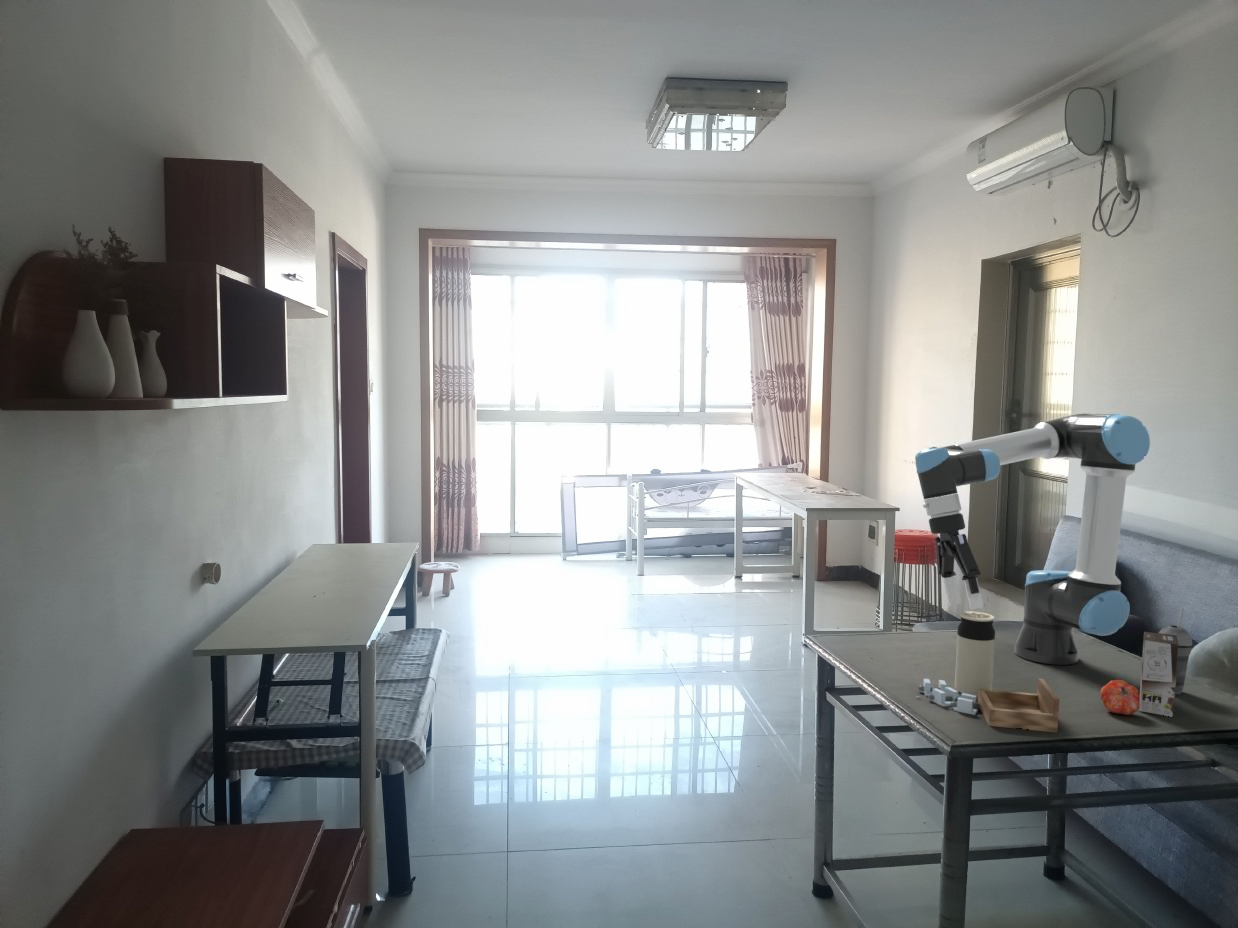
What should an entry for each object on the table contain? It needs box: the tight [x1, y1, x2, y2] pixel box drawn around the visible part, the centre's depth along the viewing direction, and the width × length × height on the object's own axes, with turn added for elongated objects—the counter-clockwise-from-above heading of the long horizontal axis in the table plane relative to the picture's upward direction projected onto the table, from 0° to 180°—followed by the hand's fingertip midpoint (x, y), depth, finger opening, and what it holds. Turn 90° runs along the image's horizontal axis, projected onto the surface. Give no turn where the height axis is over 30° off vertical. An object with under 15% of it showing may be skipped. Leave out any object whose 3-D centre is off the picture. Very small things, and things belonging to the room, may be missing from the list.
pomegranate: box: [1100, 679, 1140, 716], centre depth 184 cm, size 7×7×10 cm
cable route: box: [917, 678, 981, 716], centre depth 188 cm, size 12×14×3 cm
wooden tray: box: [976, 678, 1060, 734], centre depth 179 cm, size 13×13×7 cm
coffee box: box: [1139, 631, 1179, 718], centre depth 186 cm, size 9×6×16 cm
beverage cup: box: [1158, 607, 1194, 695], centre depth 198 cm, size 7×7×20 cm
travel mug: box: [954, 610, 996, 698], centre depth 195 cm, size 8×8×18 cm
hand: (965, 606), depth 192 cm, fingers open, 13 cm apart
